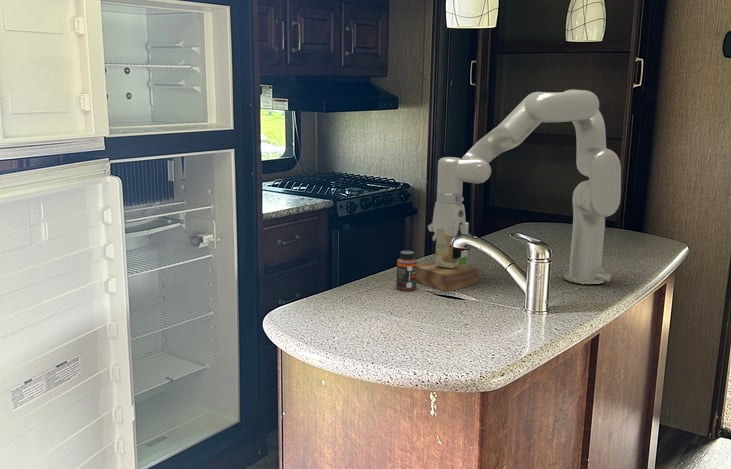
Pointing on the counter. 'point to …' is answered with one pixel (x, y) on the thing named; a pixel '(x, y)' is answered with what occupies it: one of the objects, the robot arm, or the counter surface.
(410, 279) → the supplement bottle
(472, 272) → the walnut block
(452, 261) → the skincare box
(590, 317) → the counter surface
